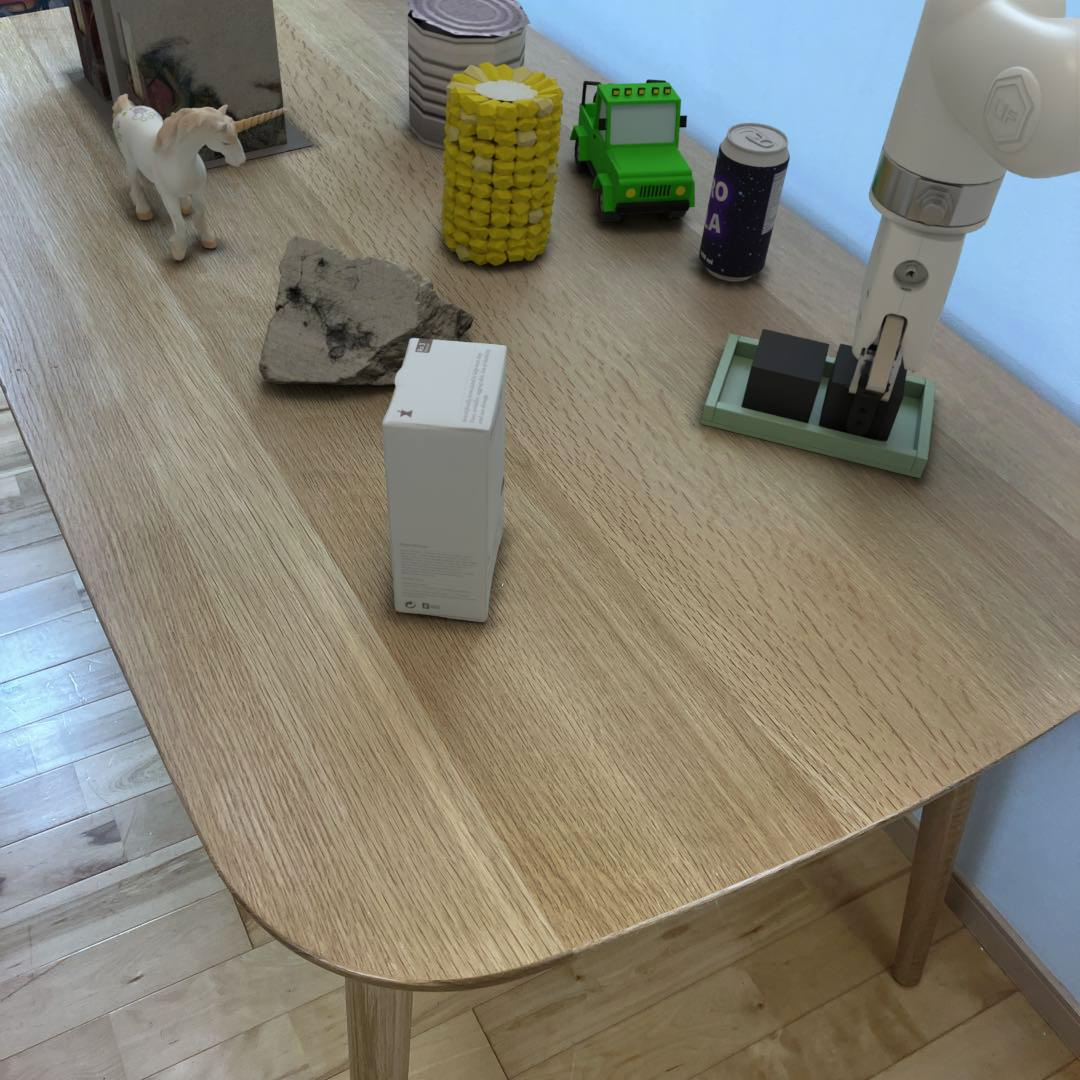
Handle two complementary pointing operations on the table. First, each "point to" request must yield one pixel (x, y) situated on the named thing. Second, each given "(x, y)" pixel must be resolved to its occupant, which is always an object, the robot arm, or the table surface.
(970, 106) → the robot arm
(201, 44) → the bookend
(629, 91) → the toy car
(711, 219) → the beverage can
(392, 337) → the stone
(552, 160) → the food
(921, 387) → the tray
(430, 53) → the can
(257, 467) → the table surface
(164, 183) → the unicorn figurine
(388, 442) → the cosmetic box
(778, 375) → the black block
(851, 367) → the black cube
